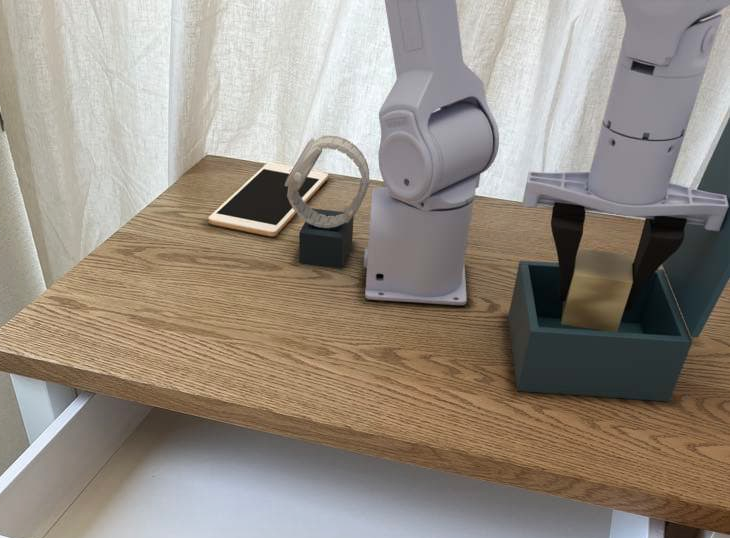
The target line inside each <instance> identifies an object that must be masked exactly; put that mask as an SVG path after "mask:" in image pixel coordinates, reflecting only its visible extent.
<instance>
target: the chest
mask: <svg viewBox="0 0 730 538" xmlns="http://www.w3.org/2000/svg"><path fill="white" fill-rule="evenodd" d="M517 266H518V267H517V272H516V277H515V281H514V287H513V291H512V297H511V301H510V306H509V310H508V316H507V321H508V329H509V337H510V345H511V353H512V362H513V369H514V378H515V385H516V392H525V393H526V392H527V393H539V394H540V393H542V394H553V395H554V394H555V395H569V396H583V397H597V398H610V399H612V398H613V399H614V398H615V399H625V400H626V399H627V400H640V401H641V400H642V401H657V402H670V399H671V397H672V395H673V392H674V390H675V387H676V385H677V382H678V379H679V377H680V375H681V372H682V370H683V368H684V364H685V362H686V359H687V357H688V354H689V352H690V349H691V347H692V345H693V340H692V339H693V338H692V337H691V336H690V333H689V331H688V328H687V326H686V323H685V321H684V318H683V316H682V313H681V311H680V308H679V306H678V303H677V301H676V298H675V296H674V293H673V291H672V288H671V286H670V283H669V281H668V278H667V276H666V273H665V271H664V268H663V269H662V268H658V269H657V270H656V271H655V273H654V274H653V275H652V276H651V277H650V279H649V280H648V281H647V283H646V284H645V285H644V287H643V288H642V290H641V291H640V293H639V294H638V296H637V298H636V299H635V301H634V303H633V305H632V307H631V309H630V310H629V311H626V310H624V312H623V315H622V318H621V321H620V325H619V328H618V331H617V332H610V331H603V330H596V329H589V328H583V327H576V326H569V325H562V324H561V319H562V309H563V301H559V300H558V292H559V286H560V273H559V262H550V261H549V262H548V261H536V260H535V261H533V260H519V262H518V265H517Z"/></svg>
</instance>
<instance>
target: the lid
mask: <svg viewBox="0 0 730 538" xmlns="http://www.w3.org/2000/svg"><path fill="white" fill-rule="evenodd" d="M695 189H696V190H700V191H705V192H709V193H715V194H721V195H726V196H727V200H728V205H729V207H728V210H727V213H726V215H725V218H724V221H723V223H722V226H721V228H720V231H712V230H706V229H705V228H704V226H703V225H695V224H687V223H686V225H685V228H684V233H685V236H684V239H683V242H682V244H681V245H680V247H679V248H678V250H677V251H676V252H675V253H673V254H672V255H671V256H670V257H669V258H668V259H667V260H666V261H665V262H664V263H663V264H662V265H661V266H662V268H663V270H664V272H665V275H666V277H667V280H668V282H669V285H670V287H671V290H672V292H673V295H674V297H675V300H676V302H677V305H678V307H679V310H680V312H681V315H682V317H683V320H684V322H685V325H686V327H687V330H688V332H689V335H690V337H691V338H695V339H696V338H697V339H698V338H699V337H700V335H701V333H702V331H703V329H704V328H705V326H706V324H707V322H708V321H709V318H710V316H711V315H712V312H713V310H715V309H714V308H715V306H716V305H717V303H718V301H719V299H720V297H721V295H722V293H723V292H724V290H725V288H726V287H727V284H728V282H729V280H730V116H729V117H728V120H727V121H726V124H725V126H724V128H723V131H722V133H721V135H720V137H719V139H718V141H717V143H716V146H715V148H714V150H713V152H712V154H711V157H710V159H709V161H708V163H707V165H706V168H705V169H704V172H703V174H702V176H701V178H700V181H699V182H698V185H697V187H696V188H695Z"/></svg>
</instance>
